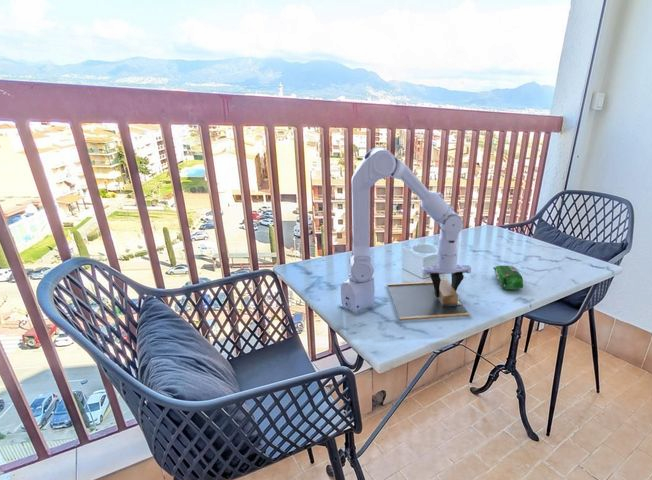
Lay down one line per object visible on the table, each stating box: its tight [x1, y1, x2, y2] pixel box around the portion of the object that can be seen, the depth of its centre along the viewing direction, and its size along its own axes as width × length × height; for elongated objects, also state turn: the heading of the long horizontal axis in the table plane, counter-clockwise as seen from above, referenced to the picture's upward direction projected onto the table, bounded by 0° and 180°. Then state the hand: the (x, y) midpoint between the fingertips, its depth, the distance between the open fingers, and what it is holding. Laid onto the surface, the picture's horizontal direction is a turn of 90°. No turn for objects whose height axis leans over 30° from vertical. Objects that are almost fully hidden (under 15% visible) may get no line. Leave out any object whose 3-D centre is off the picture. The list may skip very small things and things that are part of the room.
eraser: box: [433, 279, 459, 307], centre depth 122 cm, size 4×12×4 cm, turn 10°
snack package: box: [493, 265, 524, 290], centre depth 134 cm, size 7×16×5 cm, turn 2°
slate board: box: [387, 281, 471, 321], centre depth 122 cm, size 20×25×1 cm
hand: (444, 295), depth 122 cm, fingers closed on eraser, 4 cm apart
